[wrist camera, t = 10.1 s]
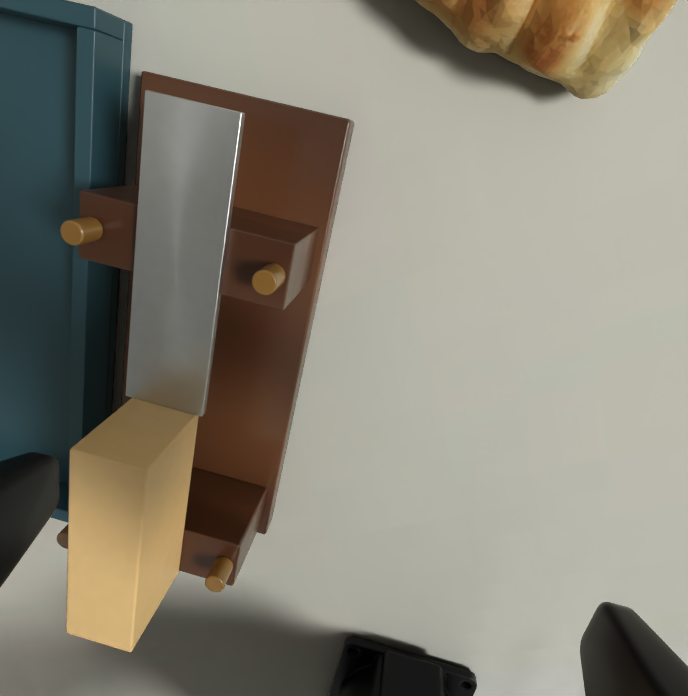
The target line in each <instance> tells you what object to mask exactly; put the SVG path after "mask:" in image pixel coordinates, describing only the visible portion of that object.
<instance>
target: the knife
mask: <svg viewBox="0 0 688 696" xmlns="http://www.w3.org/2000/svg"><path fill="white" fill-rule="evenodd" d="M244 120H245V113H242V112H238V111H234V110H229V109H225V108H221V107H217V106H213V105H208V104H204V103H200V102H196V101H192V100H187V99H183V98H179V97H175V96H170V95H166V94H162V93H158V92H154V91H149V90H145V102H144V117H143V132H142V148H141V163H140V179H139V194H138V210H137V225H136V241H135V256H134V271H133V287H132V302H131V318H130V333H129V349H128V364H127V379H126V396H128V397H132V398H131V399H130V400H129V401H128V402H126V403H125V404H124V405H123V406H122V407H120V408H119V409H118V410H117V411H116V412H114V413H113V414H112V415H111V416H110V417H108V418H107V419H106V420H105V421H104V422H102V423H101V424H100V425H99V426H97V427H96V428H95V429H94V430H93V431H91V432H90V433H89V434H88V435H87V436H85V437H84V438H83V439H82V440H81V441H79V442H78V443H77V444H76V445H74V446H73V447H72V448H71V449H70V465H69V517H68V568H67V620H66V632H67V633H68V634H71V635H75V636H78V637H81V638H85V639H88V640H91V641H94V642H98V643H101V644H104V645H107V646H111V647H114V648H117V649H121V650H124V651H127V652H131V651H132V650H133V648H134V647H135V645H136V643H137V642H138V640H139V638H140V637H141V635H142V633H143V632H144V630H145V628H146V626H147V625H148V623H149V621H150V620H151V618H152V616H153V615H154V613H155V611H156V610H157V608H158V606H159V605H160V603H161V601H162V599H163V598H164V596H165V594H166V593H167V591H168V589H169V588H170V586H171V584H172V583H173V581H174V579H175V577H176V576H177V574H178V572H179V565H180V558H181V550H182V542H183V534H184V526H185V518H186V511H187V503H188V495H189V487H190V479H191V471H192V464H193V456H194V448H195V440H196V432H197V424H198V417H199V416H203V415H204V414H205V412H206V405H207V398H208V390H209V383H210V375H211V368H212V360H213V353H214V345H215V338H216V330H217V323H218V315H219V308H220V300H221V293H222V285H223V277H224V270H225V262H226V255H227V247H228V240H229V232H230V225H231V217H232V210H233V202H234V195H235V187H236V180H237V172H238V165H239V157H240V150H241V142H242V135H243V127H244Z"/></svg>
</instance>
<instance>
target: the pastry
mask: <svg viewBox="0 0 688 696" xmlns="http://www.w3.org/2000/svg"><path fill="white" fill-rule="evenodd" d="M415 1H416V2H418V3H419V4H420V5H421V6H422V7H424V8H425V9H426V10H428V11H429V12H431V13H433V14H434V15H435V16H437V17H438V18H439V19H440V20H441V21H442V22H443V23H444V24H445V25H446V26H447V27H448V28H449V29H450V30H451V31H452V32H453V33H454V35H455V36H456V37H457V39H458V40H459V42H460V43H462V44H463V45H464V46H465V47H467V48H469V49H470V50H473V51H475V52H478V53H497V54H498V55H500V56H502V57H503V58H505V59H507V60H509V61H511V62H512V63H515V64H518V65H519V66H521V67H522V68H524V69H525V70H526V71H528V72H531V73H533V74H536V75H538V76H540V77H544V78H547V79H550V80H553V81H555V82H557V83H560V84H562V85H563V86H564V87H565V88H566V89H567V90H568V91H569V92H571V93H572V94H573V95H574V96H576V97H578V98H581V99H588V98H596V97H598V96H600V95H602V94H604V93H606V92H607V91H608V90H610V89H611V88H612V87H613V86H614V85H615V84H616V83H617V82H618V81H619V80H620V79H621V78H622V77H623V76H624V75H625V74H626V73H627V72H628V70H629V69H630V67H631V66H632V65H633V64H634V62H635V61H636V60H637V59H638V57H639V55H640V53H641V51H642V49H643V47H644V44H645V43H646V42H647V41H648V39H649V38H650V36H651V35H652V33H653V32H654V30H655V29H656V28H657V27H658V26H659V25H660V24H661V22H662V21H663V20H664V19H665V17H666V16H667V15H668V14H669V12H670V11H671V10H672V8H673V6H674V4H675V2H676V1H677V0H415Z"/></svg>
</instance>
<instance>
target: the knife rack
mask: <svg viewBox="0 0 688 696" xmlns="http://www.w3.org/2000/svg"><path fill="white" fill-rule="evenodd" d="M145 90H149V91H154V92H158V93H162V94H166V95H170V96H175V97H179V98H183V99H187V100H192V101H196V102H200V103H204V104H208V105H213V106H217V107H221V108H225V109H229V110H234V111H238V112H242V113H245V120H244V127H243V135H242V142H241V150H240V157H239V165H238V172H237V180H236V187H235V195H234V202H233V210H232V217H231V225H230V232H229V240H228V247H227V255H226V262H225V270H224V277H223V285H222V293H221V300H220V308H219V315H218V323H217V330H216V338H215V345H214V353H213V360H212V368H211V375H210V383H209V390H208V398H207V405H206V412H205V414H204V415H203V416H199V417H198V424H197V432H196V440H195V448H194V456H193V464H192V471H191V479H190V487H189V495H188V503H187V511H186V518H185V526H184V534H183V542H182V550H181V558H180V565H179V571H183V572H186V573H190V574H193V575H196V576H200V577H203V578H206V580H205V585H206V587H207V588H208V589H209V590H210V591H213V592H220V591H221V590H223V588H224V586H225V584H227V585H230V586H231V585H233V584H234V582H235V580H236V577H237V575H238V573H239V571H240V569H241V566H242V564H243V562H244V560H245V557H246V555H247V553H248V551H249V548H250V546H251V544H252V542H253V539H254V537H255V535H256V533H257V532H259V533H262V534H265V533H266V532H267V530H268V527H269V525H270V522H271V520H272V515H273V510H274V506H275V501H276V496H277V491H278V487H279V482H280V477H281V472H282V467H283V463H284V458H285V453H286V448H287V443H288V439H289V434H290V429H291V424H292V419H293V415H294V410H295V405H296V400H297V395H298V391H299V386H300V381H301V376H302V371H303V367H304V362H305V357H306V352H307V347H308V343H309V338H310V333H311V328H312V323H313V319H314V314H315V309H316V304H317V299H318V295H319V290H320V285H321V280H322V275H323V271H324V266H325V261H326V256H327V251H328V247H329V242H330V237H331V232H332V227H333V223H334V218H335V213H336V208H337V203H338V199H339V194H340V189H341V184H342V179H343V175H344V170H345V165H346V160H347V156H348V151H349V146H350V141H351V136H352V132H353V127H354V122H353V121H351V120H349V119H345V118H341V117H337V116H333V115H329V114H324V113H320V112H316V111H312V110H307V109H303V108H299V107H295V106H290V105H286V104H282V103H278V102H273V101H269V100H265V99H261V98H256V97H252V96H248V95H244V94H239V93H235V92H231V91H227V90H222V89H218V88H214V87H210V86H205V85H201V84H197V83H193V82H189V81H184V80H180V79H176V78H172V77H167V76H163V75H159V74H155V73H150V72H146V71H143V72H142V76H141V92H140V108H139V124H138V140H137V156H136V172H135V185H127V186H117V187H107V188H97V189H88V190H81V191H80V210H79V218H76V219H71V220H67V221H65V222H64V223H63V224H62V225H61V228H60V233H61V236H62V238H63V240H64V241H65V242H66V243H68V244H70V245H73V246H77V245H79V253H78V257H79V258H82V259H86V260H90V261H93V262H97V263H101V264H105V265H109V266H113V267H117V268H120V269H124V270H128V271H129V285H128V301H127V317H126V333H125V349H124V365H123V381H122V397H121V407H122V406H123V405H124V404H125V403H126V402H128V401H129V400H130V399H131V398H132V397H128V396H126V379H127V364H128V349H129V333H130V318H131V302H132V287H133V271H134V256H135V241H136V225H137V210H138V194H139V179H140V163H141V148H142V132H143V117H144V102H145ZM57 541H58V543H59V544H60V545H61V546H62V547H64V548H67V549H68V525H67V526H66V527H65V528H64V529H63V530H62V531H61V532H60V533H59V534H58V536H57Z"/></svg>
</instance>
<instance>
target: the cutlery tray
mask: <svg viewBox="0 0 688 696" xmlns="http://www.w3.org/2000/svg"><path fill="white" fill-rule="evenodd" d="M131 42H132V24H131V23H130V22H128V21H125V20H122V19H121V18H118V17H116V16H114V15H112V14H109V13H107V12H105V11H103V10H101V9H98V8H96V7H93V6H88V5H84V4H80V3H75V2H71V1H67V0H0V461H3V460H6V459H9V458H12V457H15V456H19V455H22V454H25V453H28V452H37V453H41V454H45V455H49V456H53V457H54V458H56V459H57V461H58V464H59V501H58V504H57V507H56V509H55V511H54V512H53V514H52V515H51V518H55V519H58V520H62V521H65V522H68V517H69V465H70V449H71V448H72V447H73V446H74V445H76V444H77V443H78V442H79V441H81V440H82V439H83V438H84V437H85V436H87V435H88V434H89V433H90V432H91V431H93V430H94V429H95V428H96V427H97V426H99V425H100V424H101V423H102V422H104V421H105V420H106V419H107V418H108V417H110V416H111V409H112V390H113V372H114V354H115V335H116V317H117V299H118V280H119V268H117V267H113V266H109V265H105V264H101V263H97V262H93V261H90V260H86V259H82V258H79V257H78V253H79V245H77V246H73V245H70V244H68V243H66V242H65V241H64V240H63V238H62V236H61V233H60V228H61V225H62V224H63V223H64V222H65V221H67V220H71V219H76V218H79V210H80V191H81V190H88V189H97V188H107V187H117V186H124V170H125V152H126V134H127V115H128V97H129V79H130V60H131Z"/></svg>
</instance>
